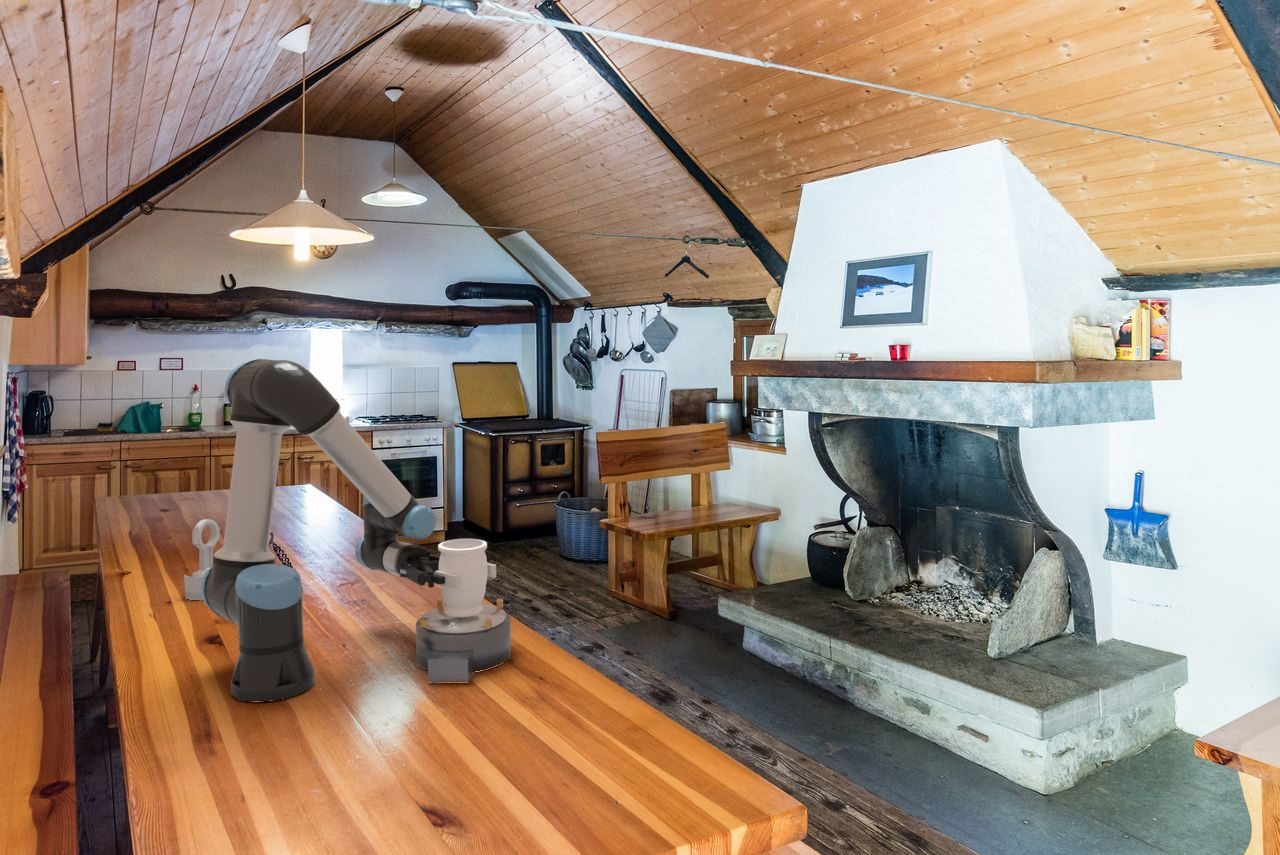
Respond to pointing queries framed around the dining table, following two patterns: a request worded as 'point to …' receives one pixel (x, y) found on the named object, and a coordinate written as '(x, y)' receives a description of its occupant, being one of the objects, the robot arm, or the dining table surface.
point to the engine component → (201, 558)
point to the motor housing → (462, 642)
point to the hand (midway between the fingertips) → (476, 576)
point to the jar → (464, 575)
